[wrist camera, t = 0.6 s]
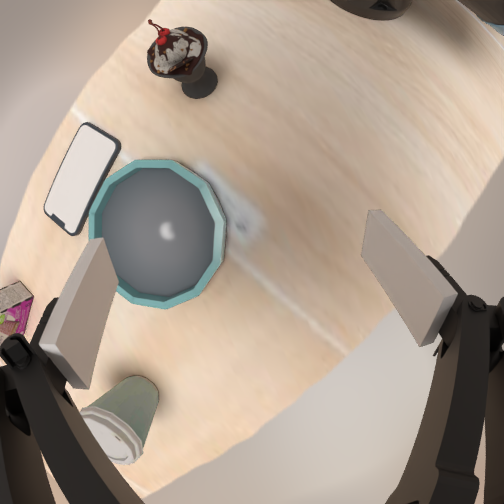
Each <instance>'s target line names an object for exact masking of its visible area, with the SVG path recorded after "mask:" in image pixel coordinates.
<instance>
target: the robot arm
mask: <svg viewBox="0 0 504 504" xmlns="http://www.w3.org/2000/svg"><path fill="white" fill-rule="evenodd" d="M331 1H332V2H334V3H335V4H337V5H338V6H340V7H341V8H343V9H345V10H347V11H349V12H351V13H353V14H356V15H359V16H362V17H365V18H370V19H376V20H390V19H395V18H397V17H400V16H401V15H403V14H404V13H405V12H406V10H407V9H408V7H409V6H410V4H411V2H412V0H331ZM458 1H459V2H461V3H462V4H463V5H465V6H466V7H467V8H469V9H470V10H471V11H473V12H474V13H475V14H476V15H477V16H478V18H479V19H481V20H482V21H483V22H485V23H486V24H488V25H490V26H491V27H492V28H494V29H495V30H496V31H497V32H498V33H500V34H501V35H503V36H504V0H458ZM361 256H362V258H363V259H364V261H365V262H366V264H367V265H368V267H369V268H370V269H371V271H372V272H373V274H374V275H375V277H376V278H377V280H378V281H379V283H380V284H381V286H382V287H383V289H384V290H385V292H386V294H387V295H388V297H389V298H390V300H391V301H392V303H393V304H394V306H395V308H396V309H397V311H398V312H399V314H400V316H401V317H402V319H403V320H404V322H405V324H406V325H407V327H408V329H409V330H410V332H411V334H412V335H413V337H414V339H415V340H416V342H417V344H418V346H419V347H421V346H425V345H428V344H431V343H433V342H434V340H435V339H436V337H437V335H438V333H439V334H440V335H441V337H442V340H441V342H440V344H439V346H438V347H437V349H436V351H435V353H434V354H433V356H435V355H436V354H437V353H438V356H437V361H436V366H435V371H434V376H433V380H432V385H431V388H430V392H429V397H428V401H427V405H426V408H425V411H424V415H423V419H422V422H421V425H420V428H419V432H418V434H417V438H416V440H415V443H414V446H413V449H412V452H411V455H410V457H409V460H408V463H407V465H406V468H405V470H404V473H403V475H402V478H401V480H400V482H399V484H398V486H397V488H396V489H395V491H394V492H393V493H392V494H391V495H390V497H389V498H388V500H387V502H386V503H385V504H474V503H475V499H476V496H477V493H478V490H479V478H478V477H476V476H475V475H474V468H475V464H476V460H477V455H478V451H479V446H480V441H481V435H482V430H483V424H484V417H485V436H486V469H485V487H484V504H504V351H503V350H502V345H503V343H504V297H503V298H501V300H500V301H499V303H498V305H497V306H492V305H487V304H486V303H485V302H484V301H483V300H482V299H481V298H479V297H477V296H474V295H466V293H465V292H464V291H463V290H462V289H461V287H460V286H459V285H458V284H457V283H456V282H455V280H454V279H453V278H452V277H451V276H450V274H449V273H447V271H446V270H444V268H443V266H442V265H441V264H440V263H439V262H438V261H437V260H435V259H433V258H432V257H430V256H425V255H424V253H423V252H422V251H421V250H420V249H419V248H418V247H417V246H416V245H415V244H414V243H413V242H412V241H411V239H410V238H409V237H408V236H407V235H406V234H405V233H404V232H403V231H402V230H401V229H400V228H399V227H398V226H397V225H396V224H395V223H394V222H393V221H392V220H391V219H390V218H389V217H388V216H387V215H386V214H385V213H384V212H383V211H382V210H368V216H367V223H366V229H365V235H364V241H363V246H362V252H361ZM118 283H119V281H118V278H117V275H116V273H115V270H114V267H113V264H112V262H111V259H110V256H109V253H108V250H107V247H106V244H105V241H104V238H96V239H90V240H89V242H88V244H87V245H86V247H85V249H84V251H83V252H82V254H81V256H80V258H79V260H78V261H77V263H76V265H75V267H74V269H73V271H72V273H71V275H70V277H69V278H68V280H67V282H66V284H65V286H64V288H63V290H62V292H61V294H60V297H59V298H54V299H53V300H52V301H51V302H50V303H49V304H48V305H47V307H46V309H45V311H44V313H43V317H41V320H40V322H39V323H40V324H38V326H37V328H36V331H35V333H34V335H33V337H32V340H31V342H30V344H29V343H28V341H27V340H26V339H25V337H24V336H23V334H20V333H14V334H12V335H10V336H8V337H7V338H6V339H5V340H4V341H3V343H2V344H1V346H0V357H1V358H2V359H3V360H4V362H5V363H6V364H7V365H5V366H1V367H0V504H56V503H55V500H54V497H53V494H52V491H51V488H50V484H49V481H48V478H47V474H46V470H45V467H44V463H43V459H42V455H41V452H42V454H43V456H44V458H45V460H46V462H47V464H48V466H49V468H50V470H51V472H52V474H53V476H54V478H55V480H56V482H57V483H58V485H59V487H60V489H61V490H62V492H63V494H64V495H65V497H66V499H67V500H68V502H69V504H145V503H144V502H143V501H142V500H141V499H140V498H139V496H138V495H137V494H136V493H135V492H134V490H133V489H132V488H131V487H130V486H129V484H128V483H127V482H126V481H125V479H124V478H123V477H122V475H121V474H120V473H119V471H118V470H117V469H116V467H115V466H114V465H113V463H112V462H111V461H110V459H109V458H108V456H107V455H106V454H105V452H104V451H103V449H102V448H101V446H100V445H99V443H98V442H97V440H96V439H95V437H94V436H93V434H92V432H91V431H90V429H89V428H88V426H87V424H86V423H85V421H84V419H83V418H82V416H81V414H80V412H79V411H78V409H77V407H76V405H75V404H74V402H73V400H72V398H71V396H70V394H69V392H68V391H67V390H66V389H65V385H66V381H68V382H69V384H70V385H71V386H72V387H73V388H76V389H89V388H90V384H91V379H92V375H93V371H94V366H95V362H96V358H97V354H98V350H99V346H100V343H101V339H102V335H103V332H104V328H105V325H106V321H107V318H108V314H109V311H110V308H111V305H112V301H113V298H114V295H115V292H116V289H117V286H118Z"/></svg>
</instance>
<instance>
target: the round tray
mask: <svg viewBox="0 0 504 504" xmlns="http://www.w3.org/2000/svg"><path fill="white" fill-rule="evenodd" d="M96 238H104V241H105V244H106V247H107V250H108V253H109V256H110V259H111V262H112V264H113V267H114V270H115V273H116V275H117V278H118V281H119V283H118V286H117V289H116V292H118V293H119V294H120V295H121V296H123V297H124V298H125V299H127V300H128V301H129V302H130V303H132V304H137V305H142V306H148V307H154V308H160V309H168V308H171V307H173V306H175V305H178V304H180V303H183V302H185V301H187V300H190V299H192V298H194V297H197V296H199V295H200V293H201V292H202V291H203V289H204V288H205V286H206V285H207V283H208V282H209V281H210V279H211V278H212V276H213V275H214V274H215V272H216V270H217V269H218V267H219V266H220V265H221V263H222V262H223V260H224V250H225V245H226V218H225V216H224V213H223V210H222V207H221V205H220V202H219V200H218V198H217V196H216V195H215V193H214V191H213V190H212V188H211V186H210V184H209V183H208V182H207V181H205V180H204V179H202V178H201V177H200V176H199V175H197V174H196V173H195V172H193V171H191V170H190V169H188V168H186V167H185V166H183V165H182V164H180V163H179V162H177V161H173V160H134V161H133V162H131V163H129V164H128V165H126V166H125V167H123V168H122V169H120V170H119V171H117V172H116V173H114V174H113V175H111V176H110V177H108V178H107V179H106V180H105V181H104V183H103V185H102V187H101V189H100V190H99V192H98V194H97V196H96V198H95V200H94V202H93V204H92V207H91V209H90V211H89V240H90V239H96Z"/></svg>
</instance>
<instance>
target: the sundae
mask: <svg viewBox="0 0 504 504" xmlns="http://www.w3.org/2000/svg"><path fill="white" fill-rule="evenodd" d="M148 23H149V24H150V25H153V26H154V27H155V28H156V29H157V31H158V35H159V37H158V38H157V39H156V40H155V41H154V42H153V43H152V45H151V47H150V48H149V50H148V52H147V53H148V54H147V62H148V66H149V68H150V70H151V72H152V73H153V74H155V75H157V76H159V77H164V78H173V79H175V80H177V81H180V82H182V90H183V92H184V93H185V94H186V95H187V96H188V97H190V98H195V99H198V98H204V97H206V96H208V95H209V94H211V93H212V92H213V91H214V89H215V88H216V85H217V75H216V73H215V72H214V71H213V70H212V69H210V68H208V67H205V57H204V56H205V54H206V51H207V46H208V43H207V39H206V37H205V36H204V35H203V34H202V33H201V32H200V31H198V30H196V29H194V28H191V27H179V28H175V29H171V30H169V29H167V28H162V27H160V26H159V25H157V24H153V23H152V20H151V19H149V20H148ZM155 25H156V26H158V27H159V28H160V29H161V30H160V31H159V30H158V28H157V27H156V26H155Z"/></svg>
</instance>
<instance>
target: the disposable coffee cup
mask: <svg viewBox="0 0 504 504" xmlns="http://www.w3.org/2000/svg"><path fill="white" fill-rule="evenodd" d="M158 402H159V399H158V390H157V389H156V387H155V385H154V384H153V383H152V382H151V381H149V380H148V379H146V378H145V377H141V376H137V375H136V376H132V377H128V378H126V379H124V380H123V381H122V382H120V383H119V384H118V385H116V386H115V387H114V388H112V389H111V390H110V391H108V392H107V393H105V394H104V395H103V396H101V397H100V398H99V399H97V400H96V401H95V402H93V403H92V404H90V405H89V406H88V407H85V408H82V409H81V411H80V414H81V416H82V418H83V419H84V421H85V423H86V424H87V426H88V428H89V429H90V431H91V432H92V434H93V436H94V437H95V439H96V440H97V442H98V443H99V445H100V446H101V448H102V449H103V451H104V452H105V454H106V455H107V456H108V458H109V459H110V461H111V462H114V463H116V464H123V465H129V464H131V463H134V462H135V461H136V460H137V459H138V458H140V456H141V455H142V454H143V447H144V444H145V441H146V438H147V435H148V432H149V429H150V426H151V423H152V420H153V417H154V414H155V411H156V408H157V405H158Z"/></svg>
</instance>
